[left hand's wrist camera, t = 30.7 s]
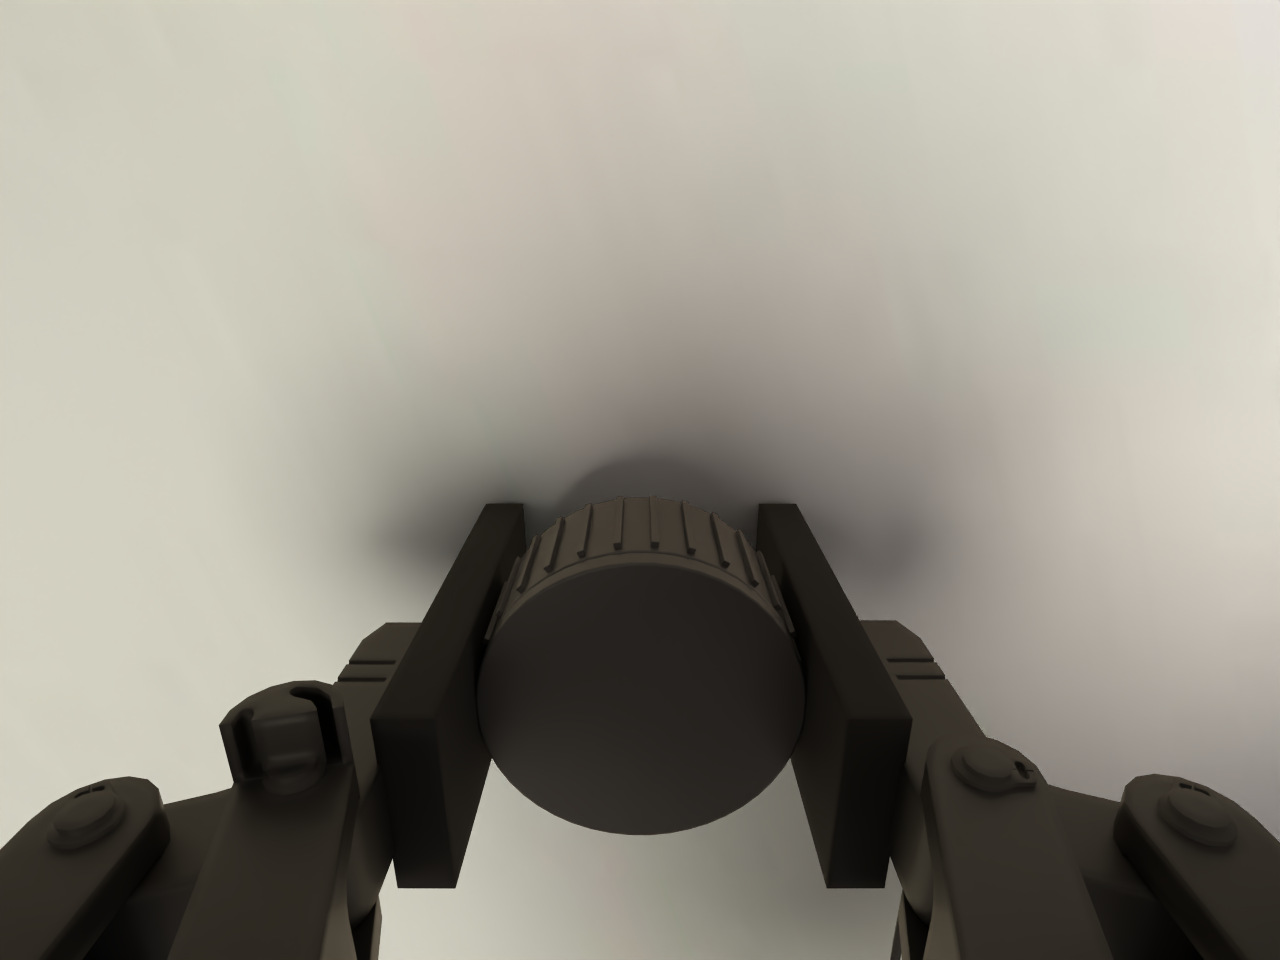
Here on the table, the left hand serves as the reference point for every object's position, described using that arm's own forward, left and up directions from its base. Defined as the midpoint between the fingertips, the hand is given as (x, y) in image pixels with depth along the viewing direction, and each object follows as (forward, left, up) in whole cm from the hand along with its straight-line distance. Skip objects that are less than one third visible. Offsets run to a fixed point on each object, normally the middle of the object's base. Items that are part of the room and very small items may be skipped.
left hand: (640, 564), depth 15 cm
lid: (0, 0, +4) cm, 4 cm away
